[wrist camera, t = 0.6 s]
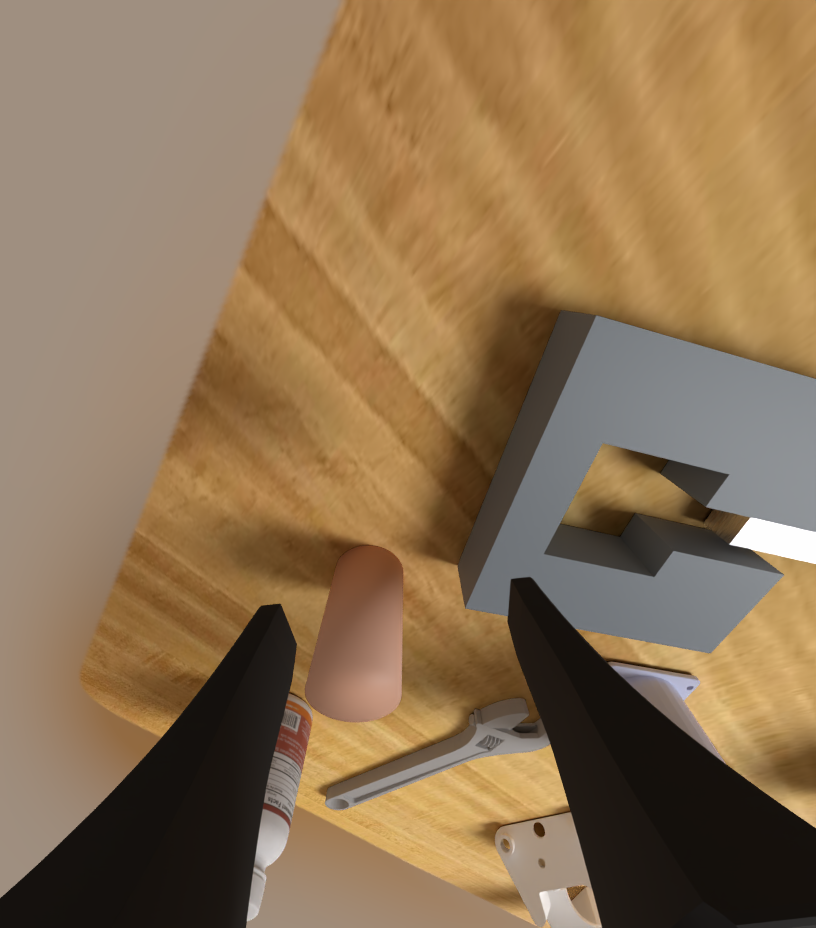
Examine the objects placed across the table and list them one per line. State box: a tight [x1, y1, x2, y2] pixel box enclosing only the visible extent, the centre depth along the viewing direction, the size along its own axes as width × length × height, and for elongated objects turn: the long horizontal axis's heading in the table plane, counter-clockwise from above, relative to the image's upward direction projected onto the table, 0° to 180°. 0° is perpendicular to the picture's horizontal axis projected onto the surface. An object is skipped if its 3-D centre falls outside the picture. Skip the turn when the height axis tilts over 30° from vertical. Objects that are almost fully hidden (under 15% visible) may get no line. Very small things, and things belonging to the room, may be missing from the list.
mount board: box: [458, 310, 816, 653], centre depth 20 cm, size 16×16×4 cm
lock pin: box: [703, 509, 816, 564], centre depth 21 cm, size 3×9×3 cm, turn 76°
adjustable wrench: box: [325, 698, 550, 810], centre depth 33 cm, size 25×6×2 cm, turn 123°
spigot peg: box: [305, 546, 403, 722], centre depth 20 cm, size 4×4×8 cm
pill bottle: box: [247, 694, 313, 921], centre depth 26 cm, size 6×6×11 cm
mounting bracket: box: [495, 812, 602, 928], centre depth 37 cm, size 12×6×11 cm, turn 116°
